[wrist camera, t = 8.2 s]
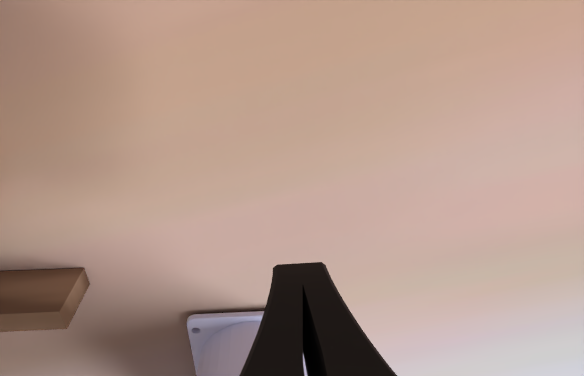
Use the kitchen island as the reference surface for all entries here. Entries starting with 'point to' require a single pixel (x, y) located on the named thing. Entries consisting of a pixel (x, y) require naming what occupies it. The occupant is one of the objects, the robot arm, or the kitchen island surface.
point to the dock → (40, 298)
